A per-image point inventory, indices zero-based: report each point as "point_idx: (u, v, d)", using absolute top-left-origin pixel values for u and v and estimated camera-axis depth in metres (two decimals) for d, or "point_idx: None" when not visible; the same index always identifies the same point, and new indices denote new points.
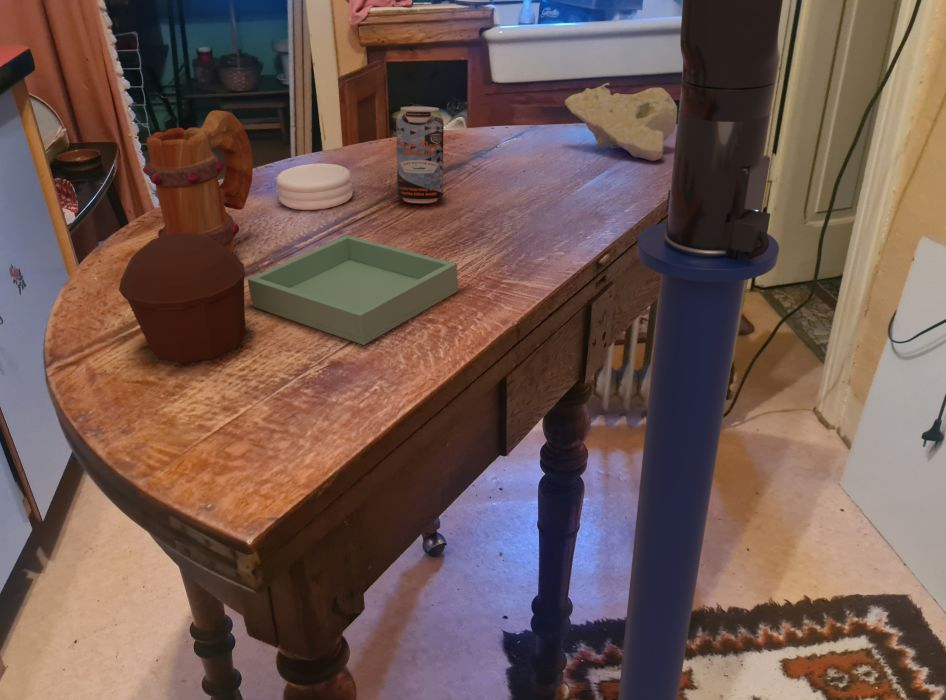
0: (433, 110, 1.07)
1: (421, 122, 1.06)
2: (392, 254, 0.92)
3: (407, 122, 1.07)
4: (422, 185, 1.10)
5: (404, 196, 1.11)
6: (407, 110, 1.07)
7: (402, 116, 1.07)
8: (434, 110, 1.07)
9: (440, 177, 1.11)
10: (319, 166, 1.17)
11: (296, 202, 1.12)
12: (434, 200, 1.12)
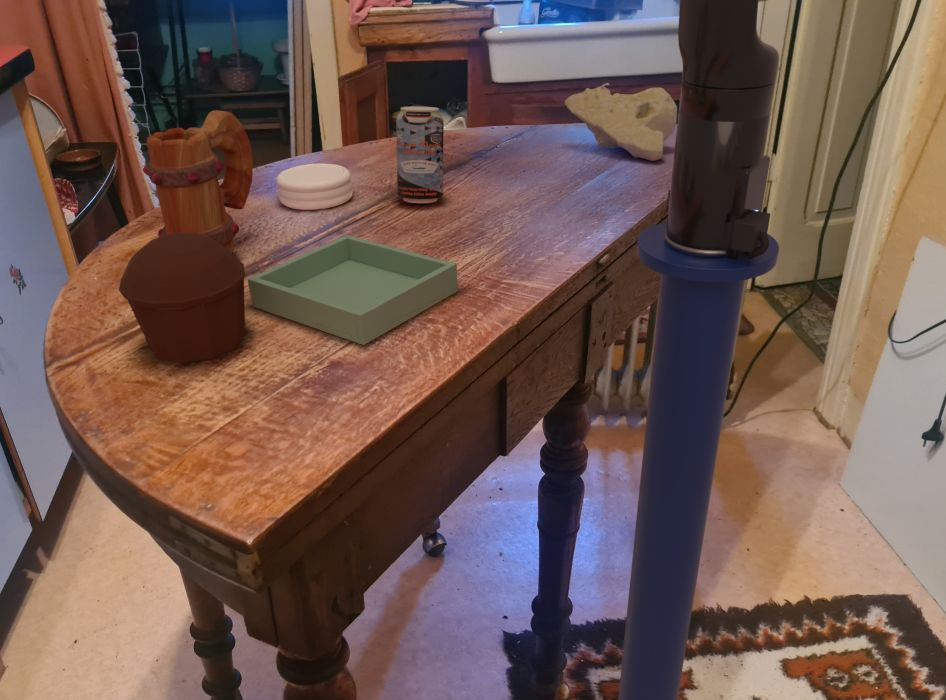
0: (433, 110, 1.07)
1: (421, 122, 1.06)
2: (392, 254, 0.92)
3: (407, 122, 1.07)
4: (422, 185, 1.10)
5: (404, 196, 1.11)
6: (407, 110, 1.07)
7: (402, 116, 1.07)
8: (434, 110, 1.07)
9: (440, 177, 1.11)
10: (319, 166, 1.17)
11: (296, 202, 1.12)
12: (434, 200, 1.12)
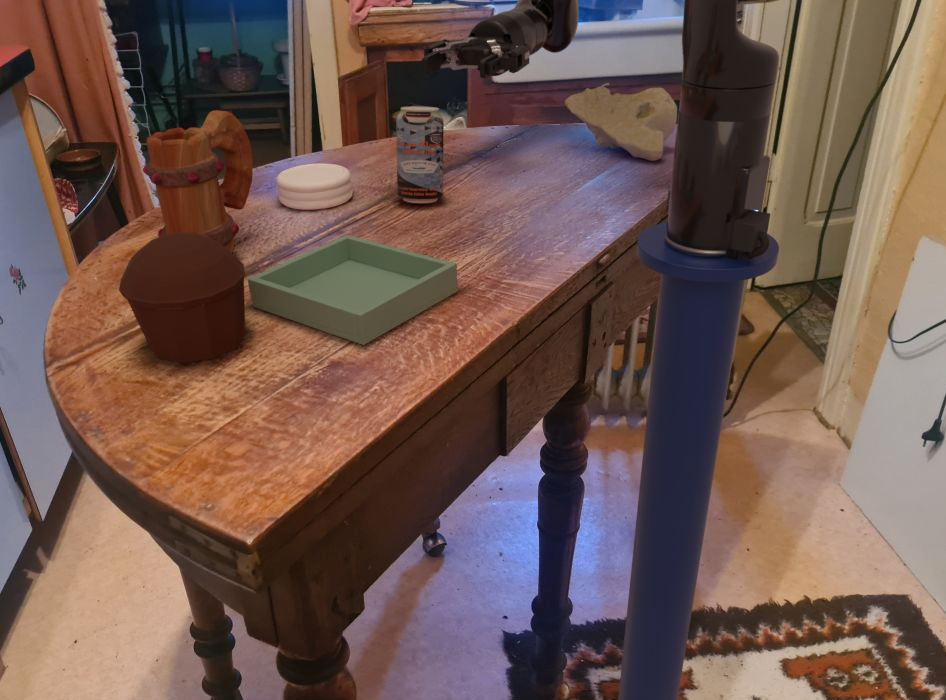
0: (433, 110, 1.07)
1: (421, 122, 1.06)
2: (392, 254, 0.92)
3: (407, 122, 1.07)
4: (422, 185, 1.10)
5: (404, 196, 1.11)
6: (407, 110, 1.07)
7: (402, 116, 1.07)
8: (434, 110, 1.07)
9: (440, 177, 1.11)
10: (319, 166, 1.17)
11: (296, 202, 1.12)
12: (434, 200, 1.12)
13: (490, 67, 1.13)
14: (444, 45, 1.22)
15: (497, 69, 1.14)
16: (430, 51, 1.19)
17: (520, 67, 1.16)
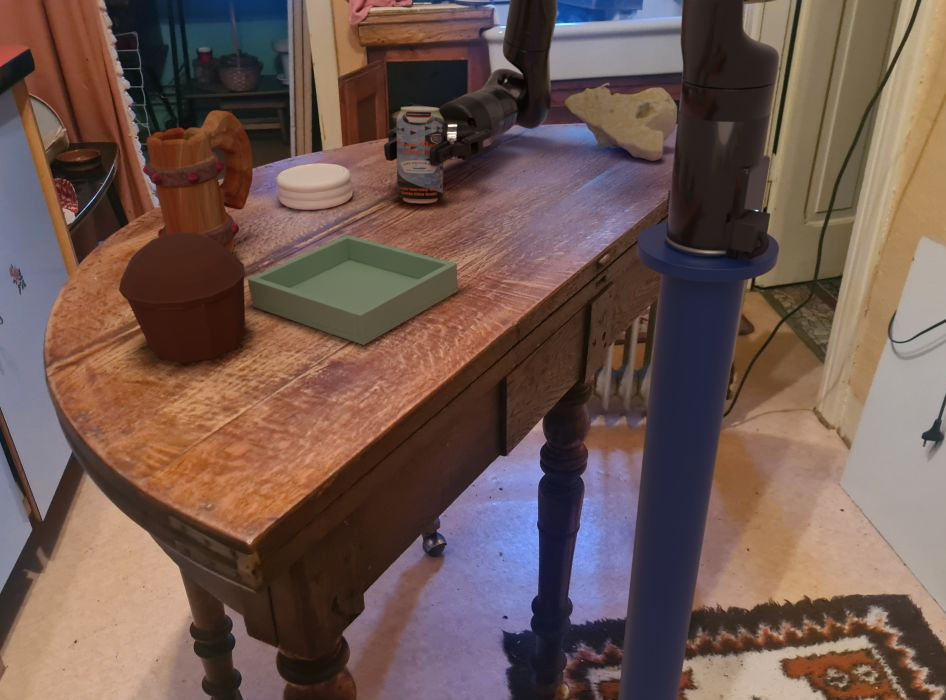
0: (433, 110, 1.07)
1: (422, 122, 1.06)
2: (392, 254, 0.92)
3: (408, 122, 1.07)
4: (422, 185, 1.10)
5: (404, 196, 1.11)
6: (407, 110, 1.07)
7: (403, 116, 1.07)
8: (434, 110, 1.07)
9: (440, 177, 1.11)
10: (319, 166, 1.17)
11: (296, 202, 1.12)
12: (434, 200, 1.12)
13: (441, 155, 1.08)
14: None
15: (449, 157, 1.09)
16: (394, 135, 1.14)
17: (475, 155, 1.11)
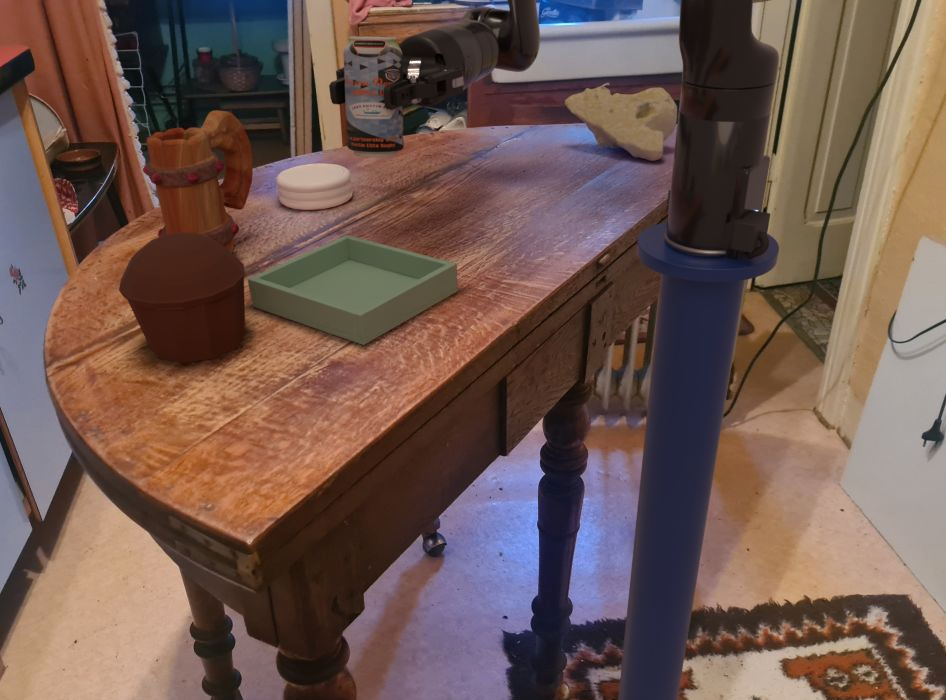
0: (388, 39, 0.86)
1: (373, 53, 0.85)
2: (392, 254, 0.92)
3: (356, 53, 0.85)
4: (376, 134, 0.89)
5: (355, 148, 0.90)
6: (356, 39, 0.85)
7: (350, 46, 0.86)
8: (389, 39, 0.86)
9: (400, 125, 0.90)
10: (319, 166, 1.17)
11: (296, 202, 1.12)
12: (392, 154, 0.91)
13: (398, 96, 0.86)
14: None
15: (409, 98, 0.88)
16: None
17: (442, 97, 0.90)
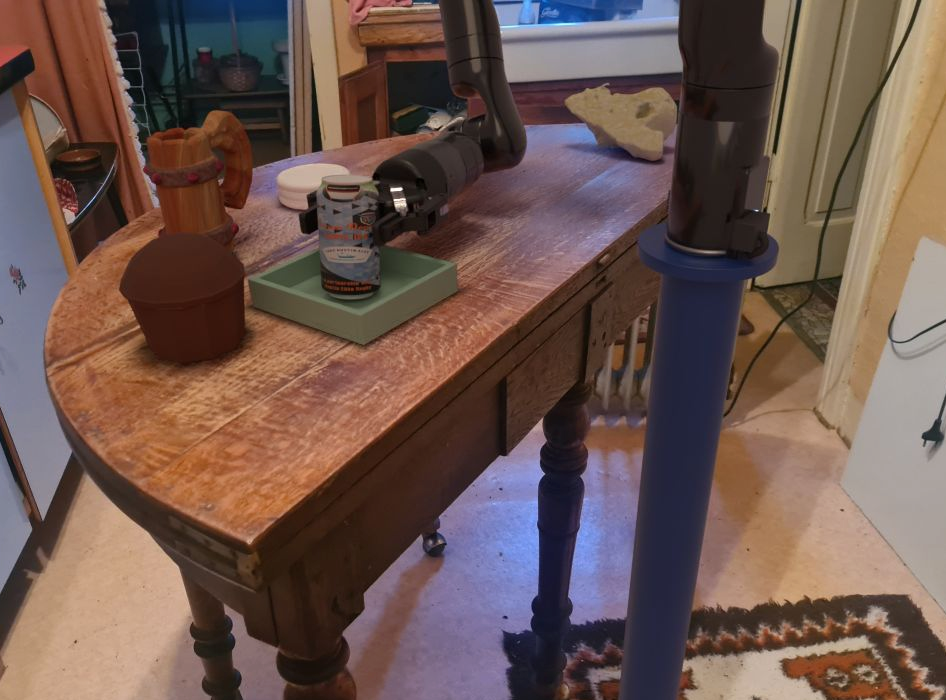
0: (363, 182, 0.81)
1: (347, 198, 0.81)
2: (392, 254, 0.92)
3: (329, 198, 0.81)
4: (351, 278, 0.84)
5: (329, 291, 0.85)
6: (329, 183, 0.81)
7: (323, 190, 0.82)
8: (365, 182, 0.82)
9: (376, 266, 0.85)
10: (319, 166, 1.17)
11: (296, 202, 1.12)
12: (369, 294, 0.87)
13: (387, 232, 0.82)
14: None
15: (398, 233, 0.83)
16: (315, 200, 0.89)
17: (432, 228, 0.85)
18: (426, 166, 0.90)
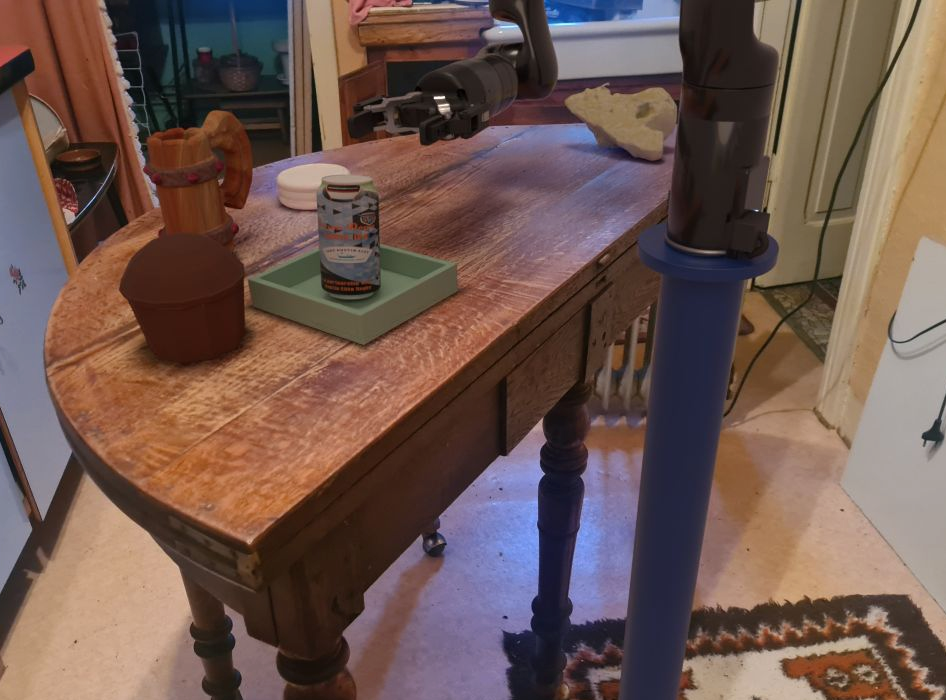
0: (363, 182, 0.81)
1: (347, 198, 0.81)
2: (392, 254, 0.92)
3: (329, 198, 0.81)
4: (351, 278, 0.84)
5: (329, 291, 0.85)
6: (329, 183, 0.81)
7: (323, 190, 0.82)
8: (365, 182, 0.82)
9: (376, 266, 0.85)
10: (319, 166, 1.17)
11: (296, 202, 1.12)
12: (369, 294, 0.87)
13: (433, 132, 0.85)
14: (381, 101, 0.95)
15: (444, 134, 0.87)
16: (361, 109, 0.92)
17: (475, 132, 0.89)
18: (466, 78, 0.94)
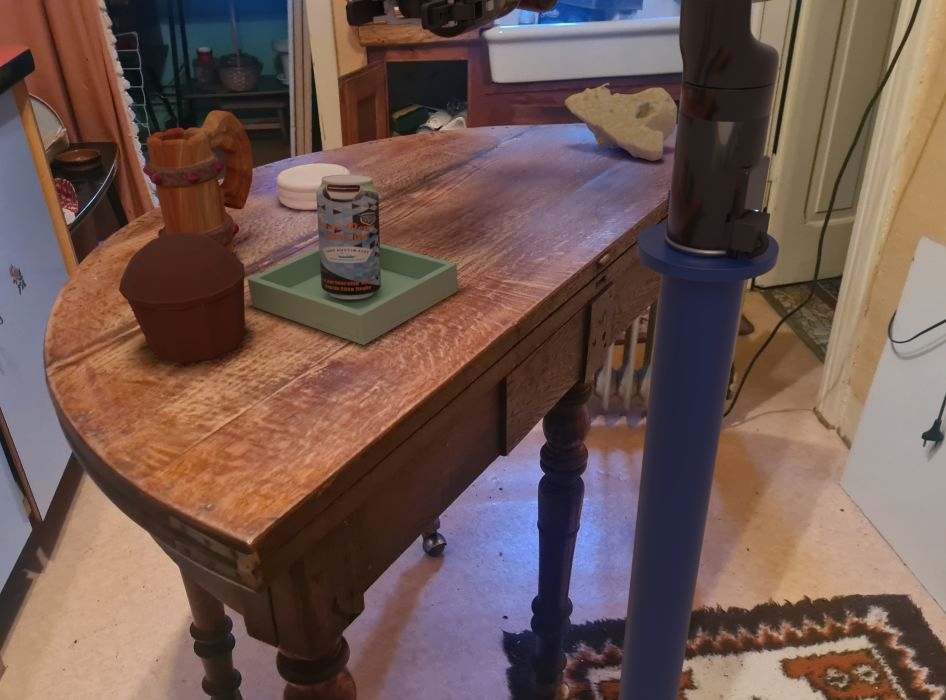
0: (363, 182, 0.81)
1: (347, 198, 0.81)
2: (392, 254, 0.92)
3: (329, 198, 0.81)
4: (351, 278, 0.84)
5: (329, 291, 0.85)
6: (329, 183, 0.81)
7: (323, 190, 0.82)
8: (365, 182, 0.82)
9: (376, 266, 0.85)
10: (319, 166, 1.17)
11: (296, 202, 1.12)
12: (369, 294, 0.87)
13: (436, 15, 0.82)
14: None
15: (446, 19, 0.83)
16: None
17: (479, 20, 0.86)
18: None
